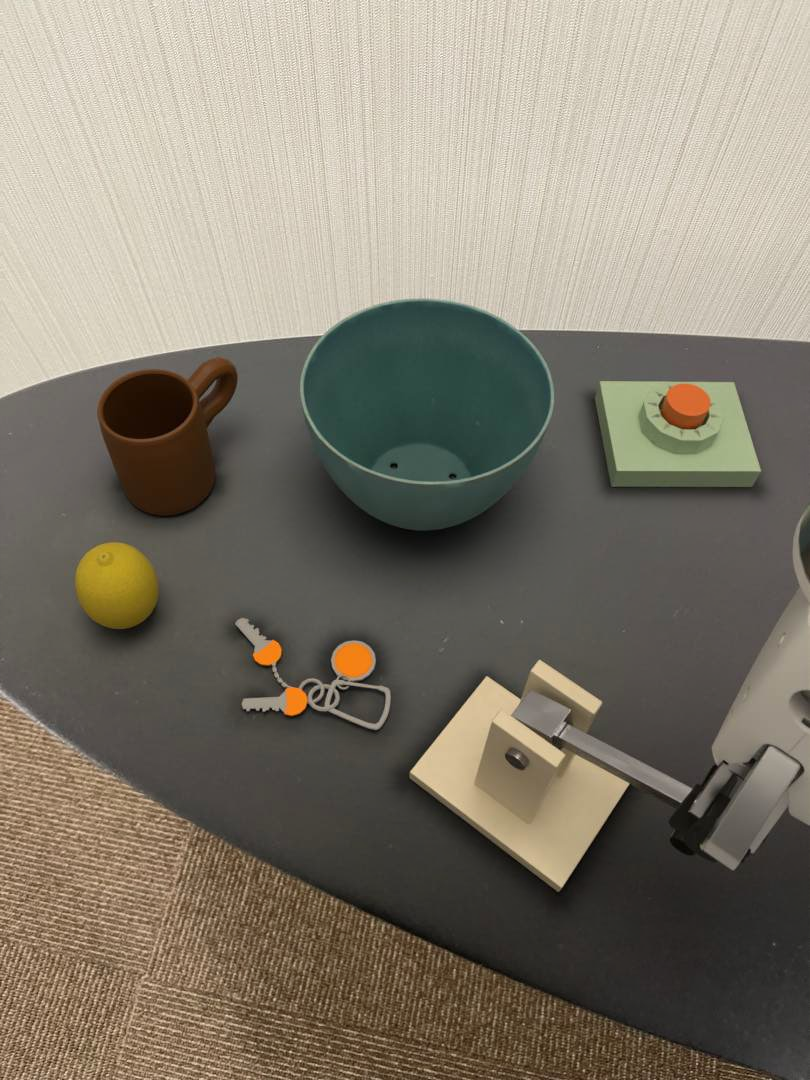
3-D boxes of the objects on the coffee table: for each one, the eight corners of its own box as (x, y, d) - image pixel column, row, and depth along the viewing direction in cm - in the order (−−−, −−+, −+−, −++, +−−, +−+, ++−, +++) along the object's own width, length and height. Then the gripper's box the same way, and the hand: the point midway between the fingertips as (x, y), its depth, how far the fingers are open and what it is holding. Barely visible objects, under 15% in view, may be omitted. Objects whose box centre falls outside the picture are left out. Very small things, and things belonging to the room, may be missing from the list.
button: (699, 397, 77) (705, 383, 76) (708, 430, 75) (715, 415, 74) (657, 397, 77) (663, 382, 75) (665, 429, 75) (671, 415, 73)
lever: (736, 790, 49) (739, 767, 48) (694, 864, 47) (695, 843, 45) (547, 694, 56) (543, 671, 54) (501, 755, 54) (496, 733, 52)
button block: (726, 398, 82) (741, 367, 79) (752, 487, 76) (769, 457, 73) (594, 398, 81) (603, 366, 78) (610, 486, 76) (621, 456, 73)
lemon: (95, 585, 69) (65, 525, 62) (169, 579, 69) (147, 519, 63) (89, 650, 66) (57, 594, 59) (166, 644, 66) (143, 588, 60)
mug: (214, 404, 80) (197, 322, 72) (275, 450, 77) (264, 370, 69) (104, 483, 74) (73, 405, 66) (165, 536, 72) (140, 461, 64)
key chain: (405, 654, 66) (406, 649, 66) (379, 746, 62) (379, 742, 62) (240, 613, 68) (239, 608, 67) (204, 701, 64) (202, 696, 63)
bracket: (629, 783, 62) (678, 715, 52) (558, 892, 58) (597, 840, 48) (484, 682, 66) (505, 600, 56) (408, 778, 61) (416, 707, 52)
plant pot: (289, 425, 78) (278, 317, 68) (489, 388, 82) (506, 280, 71) (336, 602, 69) (331, 507, 59) (561, 553, 72) (592, 455, 62)
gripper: (963, 853, 23) (742, 973, 37) (1131, 439, 31) (896, 668, 45) (693, 684, 25) (583, 857, 39) (913, 342, 33) (756, 588, 47)
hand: (750, 756), depth 42 cm, fingers open, 9 cm apart
